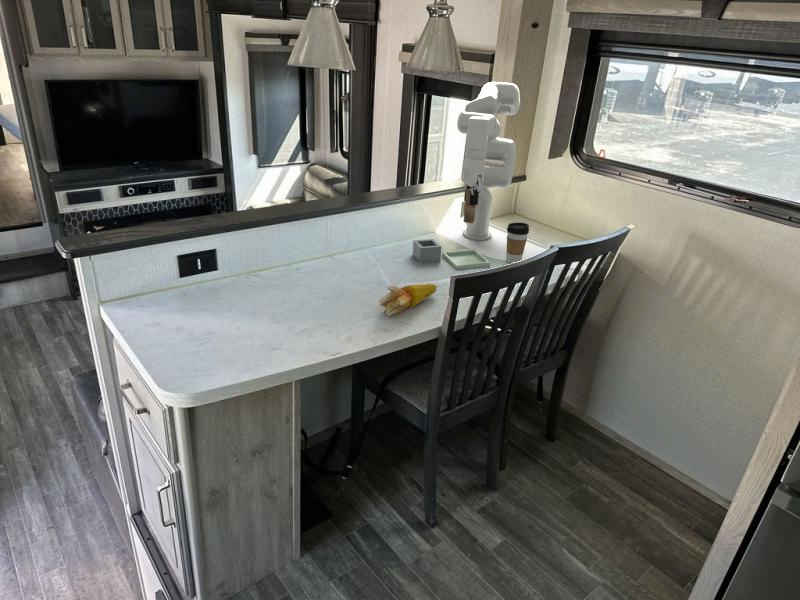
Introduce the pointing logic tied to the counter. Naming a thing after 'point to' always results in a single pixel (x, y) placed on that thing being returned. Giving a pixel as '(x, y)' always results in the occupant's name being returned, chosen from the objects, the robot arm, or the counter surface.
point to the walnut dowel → (469, 209)
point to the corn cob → (405, 297)
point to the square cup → (426, 250)
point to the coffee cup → (516, 241)
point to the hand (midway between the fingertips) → (470, 202)
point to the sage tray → (465, 259)
